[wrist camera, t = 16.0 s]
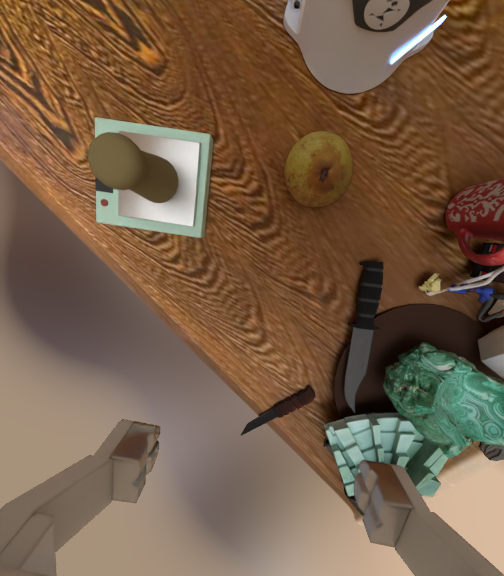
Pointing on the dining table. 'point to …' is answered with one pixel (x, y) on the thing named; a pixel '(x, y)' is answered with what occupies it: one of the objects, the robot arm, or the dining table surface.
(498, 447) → the wrench
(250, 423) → the knife
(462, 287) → the figurine
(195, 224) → the scale
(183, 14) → the dining table surface
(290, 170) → the fruit
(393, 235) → the dining table surface
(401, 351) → the plate
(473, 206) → the mug
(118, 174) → the brown rounded elongated piece
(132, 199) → the scale pan
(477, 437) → the mineral
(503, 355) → the white geometric planter
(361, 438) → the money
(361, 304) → the knife
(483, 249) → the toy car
